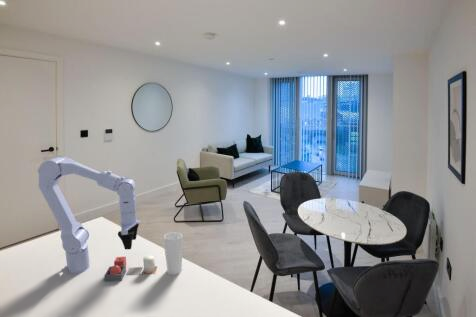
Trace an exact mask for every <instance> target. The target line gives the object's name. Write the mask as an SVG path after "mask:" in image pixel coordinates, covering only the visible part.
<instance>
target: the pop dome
mask: <svg viewBox="0 0 476 317" xmlns="http://www.w3.org/2000/svg"><path fill="white" fill-rule="evenodd" d="M110 267H111V266H110ZM110 274H121V268H120V267H119V266H118V265H112V267H111V269H110Z"/></svg>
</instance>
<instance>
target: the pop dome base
mask: <svg viewBox="0 0 476 317" xmlns="http://www.w3.org/2000/svg"><path fill="white" fill-rule="evenodd" d="M112 266H113V265H112ZM112 266H111V265H110V266H109V267H108V269H107V270H106V272H105V274H104V282H116V281H117V282H121V281H123V279H124V277H125V276H126V274H127V265H126V266H119V267H120V268H121V274H110V269H111V267H112Z"/></svg>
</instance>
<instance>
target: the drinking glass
mask: <svg viewBox="0 0 476 317" xmlns="http://www.w3.org/2000/svg"><path fill="white" fill-rule="evenodd" d="M183 240H184V239H183V234H182V233H181V232H178V231H172V232H167V233H166V234H164V236H163V246H164V254H165V261H166V271H167V274H168V275H172V276H173V275H179V274H180V273H182V271H183V268H182V267H183V264H182V263H183V252H184V251H183V250H184V249H183V248H184V247H183V246H184V242H183Z"/></svg>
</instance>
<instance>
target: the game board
mask: <svg viewBox="0 0 476 317" xmlns="http://www.w3.org/2000/svg"><path fill="white" fill-rule="evenodd" d="M157 268H158V266H156V265H155V271H154V272H152V273H145V272H144V266H141V267H140V266H137V267H128V269H127V271H126V273H125V276H139V275H140V276H141V275H156V272H157Z"/></svg>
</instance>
